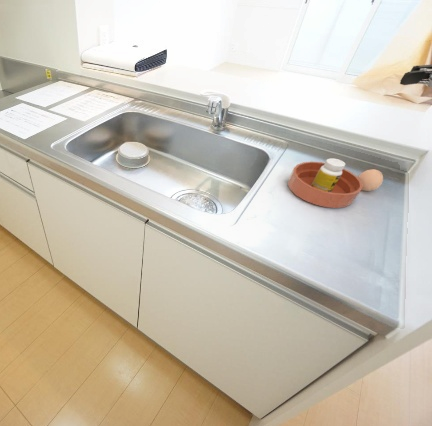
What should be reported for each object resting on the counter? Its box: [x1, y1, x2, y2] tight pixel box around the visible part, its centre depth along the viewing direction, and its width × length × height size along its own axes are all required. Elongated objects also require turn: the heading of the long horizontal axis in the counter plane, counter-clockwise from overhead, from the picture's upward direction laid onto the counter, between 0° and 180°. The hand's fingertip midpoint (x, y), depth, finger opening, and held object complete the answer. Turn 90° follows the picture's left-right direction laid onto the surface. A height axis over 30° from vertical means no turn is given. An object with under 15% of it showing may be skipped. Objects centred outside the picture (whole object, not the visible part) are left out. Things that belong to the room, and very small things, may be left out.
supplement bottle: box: [311, 157, 346, 192], centre depth 72 cm, size 5×5×8 cm
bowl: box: [287, 161, 363, 209], centre depth 74 cm, size 15×15×4 cm
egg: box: [357, 168, 384, 192], centre depth 73 cm, size 5×5×6 cm
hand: (428, 85), depth 50 cm, fingers open, 8 cm apart
